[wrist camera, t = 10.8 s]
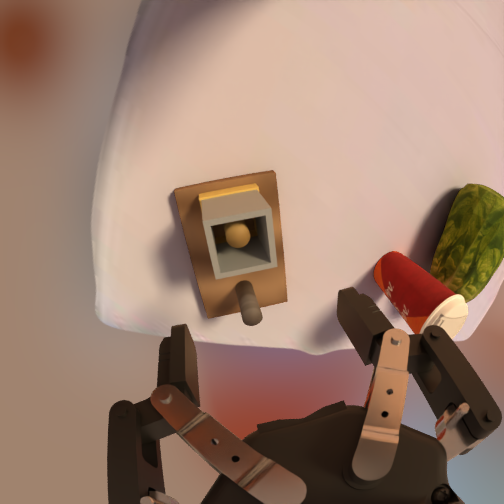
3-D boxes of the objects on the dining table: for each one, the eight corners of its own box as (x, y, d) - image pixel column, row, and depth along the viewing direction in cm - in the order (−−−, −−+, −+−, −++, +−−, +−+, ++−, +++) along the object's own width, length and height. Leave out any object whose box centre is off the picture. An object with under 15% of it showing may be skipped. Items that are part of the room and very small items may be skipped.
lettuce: (397, 286, 39) (439, 332, 29) (452, 165, 31) (511, 189, 21) (434, 294, 43) (472, 331, 33) (482, 192, 35) (530, 217, 25)
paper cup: (357, 282, 37) (413, 351, 25) (388, 235, 34) (458, 293, 22) (389, 295, 40) (440, 356, 28) (416, 255, 37) (477, 308, 25)
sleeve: (198, 194, 26) (199, 219, 20) (255, 183, 27) (273, 205, 21) (209, 245, 29) (213, 282, 23) (262, 234, 30) (279, 268, 24)
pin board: (175, 188, 27) (168, 209, 21) (272, 170, 28) (293, 186, 22) (207, 312, 35) (211, 351, 29) (284, 295, 36) (301, 330, 30)
